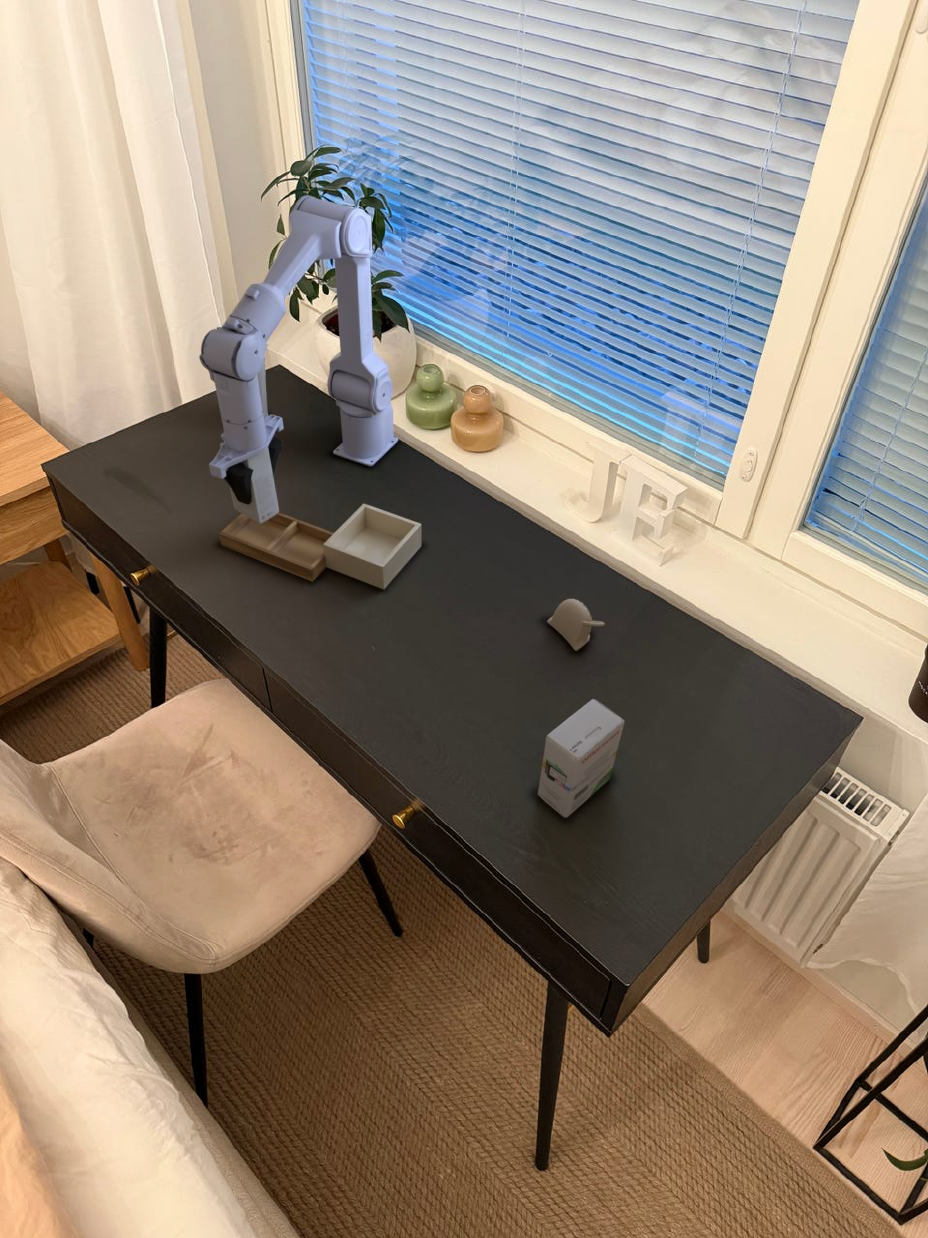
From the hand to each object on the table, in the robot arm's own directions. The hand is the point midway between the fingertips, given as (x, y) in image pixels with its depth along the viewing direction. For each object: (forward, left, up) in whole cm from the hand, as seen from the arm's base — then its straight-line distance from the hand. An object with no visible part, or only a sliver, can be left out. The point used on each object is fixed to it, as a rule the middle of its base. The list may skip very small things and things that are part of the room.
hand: (255, 491), depth 134 cm
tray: (0, +4, -9) cm, 10 cm away
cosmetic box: (0, -1, -4) cm, 4 cm away
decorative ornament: (-4, +51, -9) cm, 52 cm away
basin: (-5, +17, -9) cm, 20 cm away
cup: (-26, -22, -9) cm, 36 cm away
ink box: (+20, +61, -9) cm, 65 cm away
